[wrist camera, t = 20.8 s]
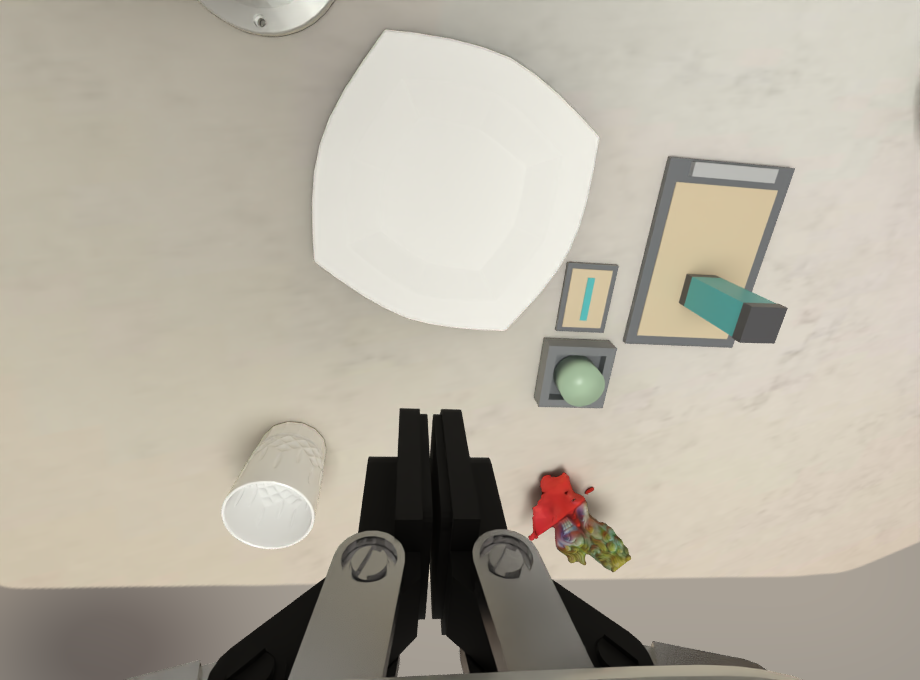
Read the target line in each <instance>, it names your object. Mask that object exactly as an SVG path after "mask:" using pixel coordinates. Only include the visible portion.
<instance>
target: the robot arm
mask: <svg viewBox="0 0 920 680" xmlns="http://www.w3.org/2000/svg"><path fill="white" fill-rule="evenodd" d="M198 1H199V2H200V3H201V4H202V5H203V6H204V7H205V8H206V9H207V10H209V11H210V12H211V13H213V14H214V15H215V16H217V17H218V18H220V19H221V20H222V21H224V22H226V23H228V24H230V25H231V26H233V27H235V28H238V29H240V30H243V31H246V32H248V33H251V34H256V35H262V36H285V35H289V34H292V33H296V32H299V31H301V30H303V29H305V28H307V27H308V26H310V25H312V24H314V23H315V22H316V21H317V20H318V19H319V18H320V17H321V16H323V15H324V14H325V13H326V12H327V10H328V9H329V7H330V6H331V4H332V3H333V2H334V0H198ZM262 19H264V20H265V22H266V24H265V26H264V27H261V26H260V21H261V20H262ZM429 564H430V582H431V605H432V619H441V631H442V635H446V636H447V637H449V638H450V639H451V640H452V641H453V642H454V643H455V644H456V645H457V646H459V647H460V661H461V665H462V670H463V674H450V675H430V676H410V677H397V675H398V670H399V663H400V654H401V653H402V651H403V650H404V649H405V648H406V647H407V646H408V645H409V644H410V643H411V642H412V641H413V640H414V639H415V638H416V637H417V627H418V620H419V619H425V613H426V602H427V589H428V577H429ZM125 680H803V679H800V678H797V677H794V676H790V675H786V674H781V673H777V672H771V671H768V670H766V669H765V668H763V667H762V666H760V665H758V664H757V663H753V662H751V661H748V660H745V659H741V658H736V657H730V656H726V655H720V654H716V653H711V652H705V651H700V650H695V649H690V648H685V647H680V646H675V645H670V644H664V643H660V642H655V641H653V642H652V644H651V647H650V646H645V645H642V643H641V642H640V641H639V640H638V639H637V638H635V637H634V636H633V635H632V634H631V633H629V632H628V631H627V630H625V629H624V628H622V627H621V626H619V625H618V624H616V623H615V622H614V621H612V620H610V619H609V618H608V617H606V616H605V615H603V614H602V613H600V612H599V611H597V610H596V609H595V608H593V607H592V606H590V605H589V604H587V603H586V602H584V601H583V600H581V599H580V598H578V597H577V596H576V595H574V594H573V593H571V592H570V591H568V590H567V589H565V588H564V587H562V586H561V585H560V584H558V583H557V582H555V581H554V580H552V579H551V577H550V575H549V573H548V571H547V568H546V566H545V564H544V562H543V560H542V558H541V556H540V554H539V552H538V550H537V549H536V547H535V546H534V544H533V543H532V542H531V541H530V540H529V539H527V538H526V537H525V536H523V535H521V534H519V533H517V532H515V531H510V530H507V526H506V522H505V518H504V514H503V510H502V505H501V501H500V497H499V493H498V489H497V485H496V481H495V476H494V472H493V468H492V464H491V461H490V459H489V458H470V456H469V451H468V445H467V440H466V434H465V428H464V423H463V417H462V412H461V410H453V409H441V412H440V414H433V422H432V436H431V450H430V454H429V436H428V418H427V414H420V409H406V408H400V415H399V438H398V457H369V458H368V464H367V471H366V478H365V486H364V493H363V501H362V508H361V516H360V523H359V531H358V533H356V534H354V535H353V536H351V537H349V538H347V539H346V540H345V541H344V542H343V543H342V544H341V545H339V547H338V549H337V550H336V552H335V554H334V557H333V559H332V562H331V565H330V567H329V570H328V573H327V575H326V577H325V578H324V579H323V580H321V581H320V582H319V583H317V584H316V585H315V586H313V587H312V588H311V589H309V590H308V591H307V592H305V593H304V594H303V595H301V596H300V597H299V598H297V599H296V600H295V601H294V602H292V603H291V604H289V605H288V606H287V607H285V608H284V609H283V610H281V611H280V612H279V613H277V614H276V615H274V617H272V618H271V619H269V620H268V621H266V622H265V623H264V624H262V625H261V626H260V627H258V628H257V629H256V630H254V631H253V632H252V633H250V634H249V635H248V636H246V637H245V638H244V639H242V640H241V641H240V642H238V643H237V644H236V645H235V646H233V647H232V648H230V649H229V650H228V651H227V652H226V653H225V654H224V655H223V656H222V657H221V658H220V659H219V660H218V661H217V662H215V663H212V664H207V665H204V666H201V662H200V660H198V661H195V662H191V663H188V664H183V665H179V666H175V667H172V668H168V669H164V670H160V671H156V672H152V673H148V674H144V675H140V676H137V677H133V678H129V679H125Z"/></svg>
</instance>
